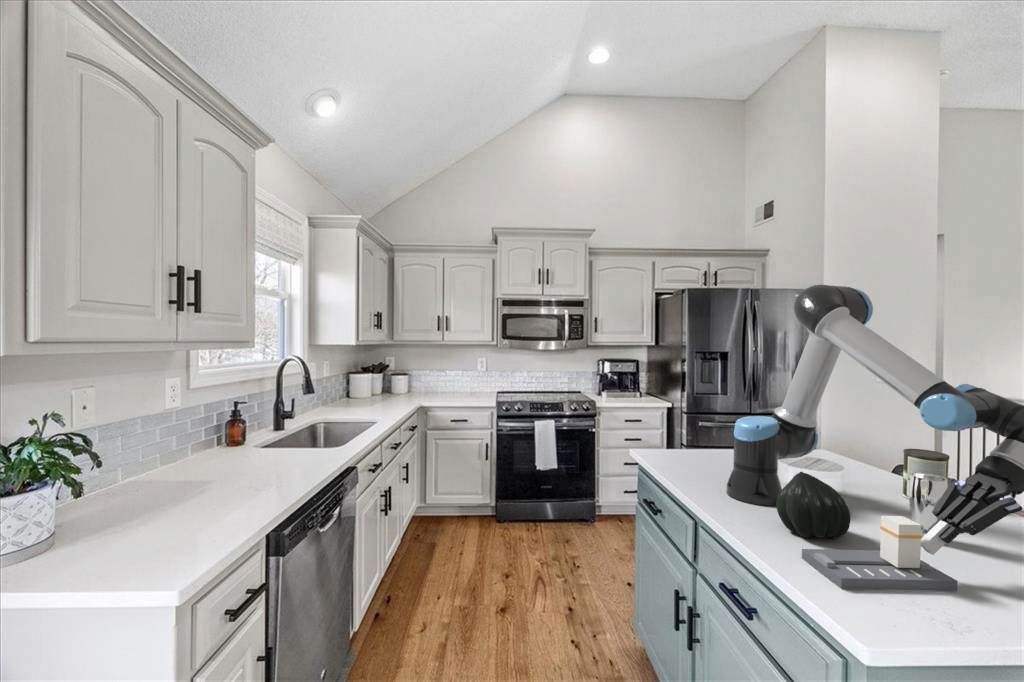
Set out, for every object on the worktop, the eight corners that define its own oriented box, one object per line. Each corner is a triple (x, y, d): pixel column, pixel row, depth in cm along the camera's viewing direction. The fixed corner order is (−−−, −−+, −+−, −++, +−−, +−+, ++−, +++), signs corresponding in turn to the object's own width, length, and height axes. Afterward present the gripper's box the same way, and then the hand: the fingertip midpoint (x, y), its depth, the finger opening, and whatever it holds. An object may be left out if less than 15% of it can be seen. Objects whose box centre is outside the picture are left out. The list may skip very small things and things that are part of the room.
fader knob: (901, 557, 96) (902, 516, 96) (920, 568, 91) (922, 525, 91) (879, 556, 96) (880, 515, 96) (897, 567, 91) (898, 524, 91)
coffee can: (893, 492, 144) (894, 447, 144) (929, 494, 143) (930, 449, 143) (919, 504, 134) (920, 456, 134) (957, 506, 133) (959, 458, 133)
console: (903, 560, 100) (904, 546, 99) (957, 591, 88) (957, 575, 87) (801, 558, 100) (802, 544, 100) (841, 588, 88) (841, 572, 88)
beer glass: (936, 535, 113) (938, 474, 113) (952, 547, 106) (955, 482, 106) (901, 530, 115) (903, 470, 115) (915, 542, 109) (917, 479, 108)
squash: (865, 531, 101) (845, 467, 111) (788, 525, 105) (775, 464, 115) (845, 552, 111) (828, 492, 121) (776, 546, 115) (765, 488, 125)
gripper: (1061, 492, 86) (969, 579, 87) (989, 471, 99) (910, 547, 100) (1034, 463, 86) (942, 550, 87) (965, 446, 99) (886, 522, 100)
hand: (925, 548), depth 93 cm, fingers closed
